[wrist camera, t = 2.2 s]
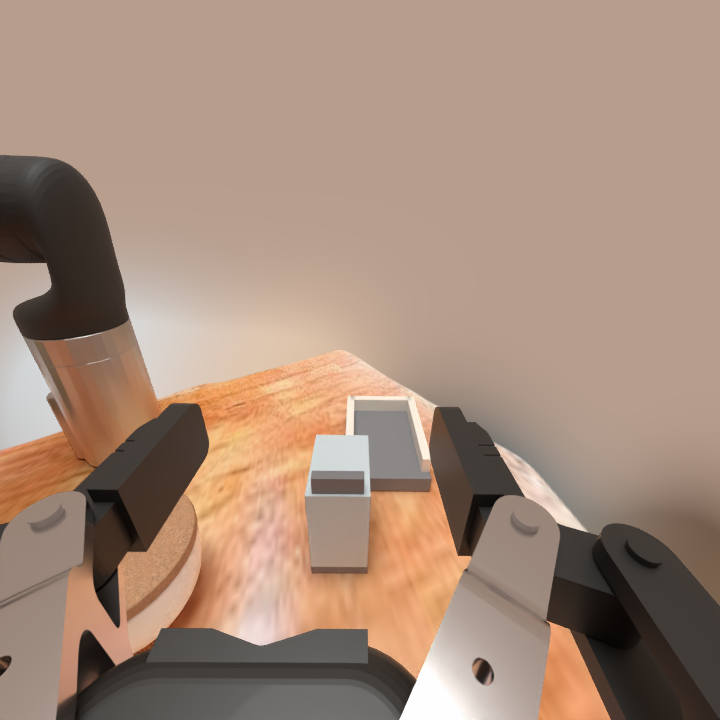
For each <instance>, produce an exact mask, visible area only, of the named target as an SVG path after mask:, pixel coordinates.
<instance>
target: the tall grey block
mask: <svg viewBox="0 0 720 720" xmlns="http://www.w3.org/2000/svg"><path fill="white" fill-rule="evenodd" d="M370 500H371V493H370V468H369V443H368V435H316V439H315V445H314V450H313V455H312V460H311V466H310V471H309V476H308V482H307V487H306V492H305V504H306V515H307V526H308V537H309V548H310V558H311V569H312V573H357V574H367V566H368V544H369V522H370Z"/></svg>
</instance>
